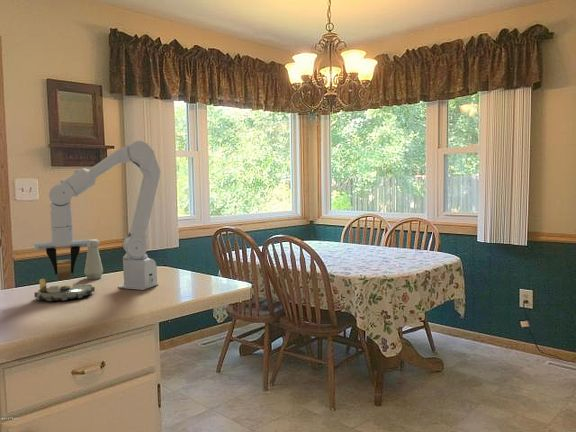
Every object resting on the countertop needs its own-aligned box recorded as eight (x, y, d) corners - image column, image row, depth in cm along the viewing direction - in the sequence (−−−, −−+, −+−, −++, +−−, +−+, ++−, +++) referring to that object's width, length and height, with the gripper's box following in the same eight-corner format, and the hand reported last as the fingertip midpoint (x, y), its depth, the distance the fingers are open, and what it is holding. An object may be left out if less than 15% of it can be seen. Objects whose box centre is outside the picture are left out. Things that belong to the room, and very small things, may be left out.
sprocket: (95, 296, 134) (94, 280, 134) (32, 303, 128) (31, 285, 128) (93, 285, 148) (93, 270, 148) (37, 291, 142) (36, 275, 142)
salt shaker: (96, 280, 160) (94, 240, 159) (81, 279, 161) (79, 240, 160) (106, 276, 166) (105, 238, 165) (91, 276, 167) (89, 238, 166)
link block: (71, 279, 141) (70, 262, 140) (57, 280, 139) (56, 263, 139) (71, 276, 145) (70, 259, 145) (58, 277, 144) (57, 260, 144)
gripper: (88, 224, 147) (90, 268, 149) (34, 226, 142) (37, 273, 143) (89, 226, 141) (91, 272, 142) (33, 228, 135) (35, 277, 136)
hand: (64, 273), depth 142 cm, fingers closed on link block, 3 cm apart
